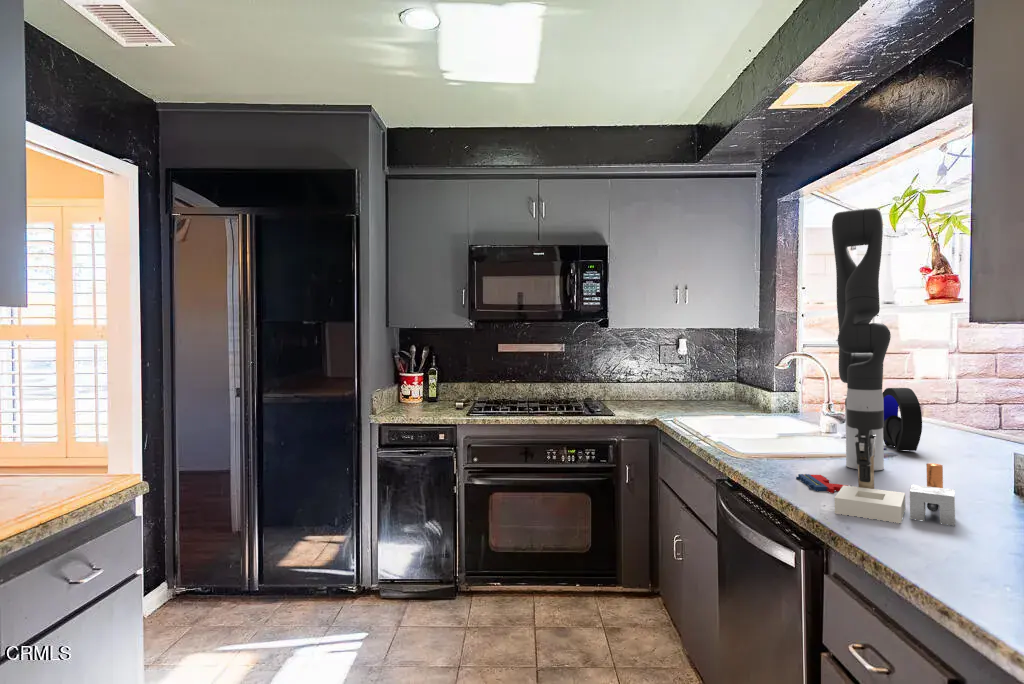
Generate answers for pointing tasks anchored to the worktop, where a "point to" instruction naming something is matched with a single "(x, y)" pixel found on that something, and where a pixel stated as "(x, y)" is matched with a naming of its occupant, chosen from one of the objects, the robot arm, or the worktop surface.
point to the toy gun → (819, 483)
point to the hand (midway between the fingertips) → (866, 479)
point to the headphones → (902, 419)
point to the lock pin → (934, 481)
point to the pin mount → (934, 496)
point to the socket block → (870, 503)
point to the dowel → (871, 483)
